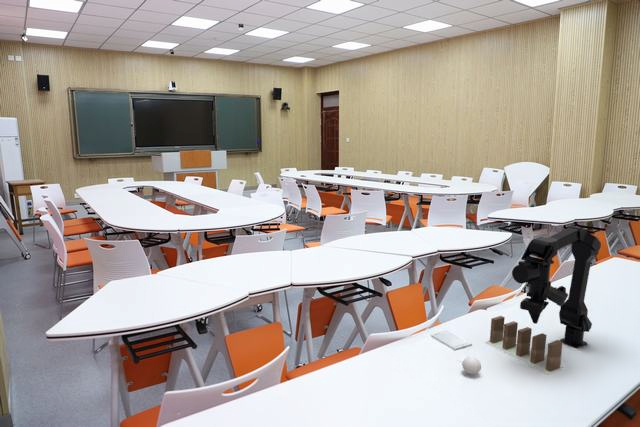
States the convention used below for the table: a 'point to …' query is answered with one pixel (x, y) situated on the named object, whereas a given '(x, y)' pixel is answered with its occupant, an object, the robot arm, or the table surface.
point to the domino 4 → (538, 348)
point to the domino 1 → (497, 329)
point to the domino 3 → (523, 341)
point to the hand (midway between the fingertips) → (535, 323)
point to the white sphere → (471, 365)
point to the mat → (523, 357)
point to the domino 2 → (510, 335)
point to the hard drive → (451, 340)
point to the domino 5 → (554, 355)
